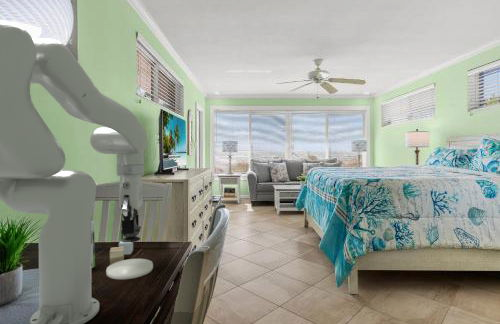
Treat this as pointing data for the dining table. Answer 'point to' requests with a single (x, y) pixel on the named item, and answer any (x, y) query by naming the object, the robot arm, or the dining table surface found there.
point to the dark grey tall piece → (137, 228)
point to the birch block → (116, 254)
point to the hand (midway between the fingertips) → (130, 229)
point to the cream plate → (129, 269)
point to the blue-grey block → (126, 247)
